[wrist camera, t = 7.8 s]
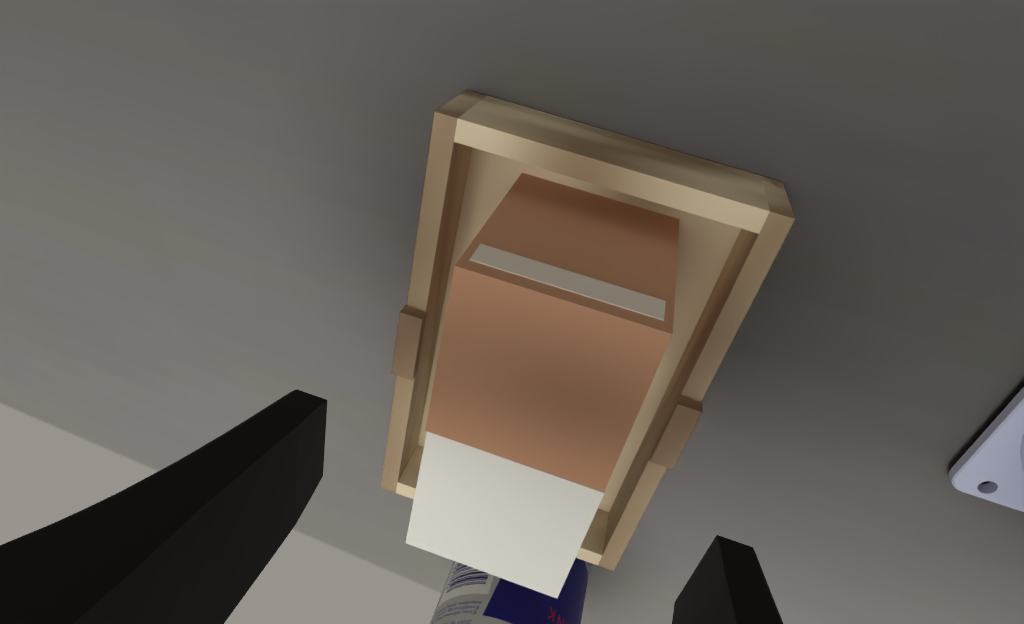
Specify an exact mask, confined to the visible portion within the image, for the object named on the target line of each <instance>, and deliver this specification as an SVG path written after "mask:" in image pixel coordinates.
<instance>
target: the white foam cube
mask: <svg viewBox="0 0 1024 624" xmlns="http://www.w3.org/2000/svg"><path fill="white" fill-rule="evenodd" d="M604 493H605V491H604V492H602V491H599V490H596V489H594V488H591V487H588V486H585V485H582V484H579V483H576V482H573V481H570V480H567V479H564V478H561V477H559V476H556V475H553V474H550V473H547V472H544V471H541V470H538V469H535V468H532V467H529V466H526V465H524V464H521V463H518V462H515V461H512V460H509V459H506V458H503V457H500V456H497V455H494V454H491V453H489V452H486V451H483V450H480V449H477V448H474V447H471V446H468V445H465V444H462V443H459V442H456V441H454V440H451V439H448V438H445V437H442V436H439V435H436V434H433V433H430V432H427V434H426V439H425V444H424V450H423V455H422V460H421V465H420V470H419V476H418V481H417V486H416V491H415V497H414V502H413V507H412V512H411V517H410V523H409V528H408V533H407V538H406V543H407V544H410V545H412V546H415V547H418V548H421V549H423V550H426V551H429V552H431V553H434V554H437V555H440V556H442V557H445V558H448V559H450V560H453V561H456V562H459V563H461V564H464V565H467V566H470V567H472V568H475V569H478V570H480V571H483V572H486V573H489V574H491V575H494V576H497V577H499V578H502V579H505V580H508V581H510V582H513V583H516V584H519V585H521V586H524V587H527V588H529V589H532V590H535V591H538V592H540V593H543V594H546V595H549V596H551V597H554V598H558V596H559V594H560V591H561V589H562V587H563V585H564V582H565V580H566V578H567V576H568V574H569V571H570V569H571V567H572V565H573V562H574V560H575V558H576V556H577V553H578V551H579V549H580V547H581V545H582V542H583V540H584V538H585V536H586V533H587V531H588V529H589V527H590V524H591V522H592V520H593V518H594V516H595V513H596V511H597V509H598V507H599V504H600V502H601V500H602V498H603V495H604Z"/></svg>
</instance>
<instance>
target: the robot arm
mask: <svg viewBox="0 0 1024 624" xmlns="http://www.w3.org/2000/svg"><path fill="white" fill-rule="evenodd" d="M326 412H327V400H326V399H323V398H320V397H317V396H314V395H311V394H308V393H305V392H302V391H300V390H297V389H296V390H294V391H292V392H290V393H289V394H287V395H285V396H284V397H282V398H281V399H279V400H277V401H276V402H274V403H273V404H271V405H270V406H268V407H266V408H265V409H263V410H262V411H260V412H258V413H257V414H255V415H254V416H252V417H250V418H249V419H247V420H246V421H244V422H242V423H241V424H239V425H238V426H236V427H234V428H233V429H231V430H230V431H228V432H226V433H225V434H223V435H221V436H220V437H218V438H216V439H214V440H213V441H211V442H209V443H208V444H206V445H204V446H203V447H201V448H199V449H198V450H196V451H194V452H192V453H191V454H189V455H187V456H186V457H184V458H182V459H180V460H179V461H177V462H175V463H173V464H171V465H170V466H168V467H166V468H164V469H162V470H160V471H158V472H156V473H155V474H153V475H151V476H149V477H147V478H145V479H144V480H142V481H140V482H138V483H136V484H134V485H133V486H130V487H128V488H127V489H125V490H123V491H121V492H119V493H117V494H115V495H113V496H111V497H109V498H107V499H105V500H103V501H101V502H99V503H96V504H94V505H92V506H90V507H88V508H86V509H84V510H82V511H79V512H77V513H75V514H73V515H71V516H69V517H67V518H64V519H62V520H60V521H57V522H55V523H53V524H51V525H48V526H46V527H44V528H41V529H39V530H37V531H34V532H32V533H29V534H27V535H24V536H22V537H20V538H17V539H15V540H12V541H10V542H7V543H6V544H3V545H1V546H0V624H224V622H225V621H226V620H227V618H228V617H229V616H230V614H231V613H232V612H233V610H234V609H235V607H236V606H237V605H238V603H239V602H240V600H241V599H242V598H243V596H244V595H245V594H246V592H247V591H248V590H249V588H250V587H251V585H252V584H253V582H254V581H255V580H256V579H257V577H258V576H259V574H260V573H261V572H262V570H263V569H264V568H265V566H266V565H267V564H268V562H269V561H270V559H271V558H272V557H273V555H274V554H275V552H276V551H277V550H278V548H279V547H280V545H281V544H282V543H283V541H284V540H285V538H286V537H287V536H288V534H289V533H290V531H291V530H292V529H293V527H294V526H295V524H296V523H297V521H298V519H299V517H300V516H301V514H302V512H303V510H304V509H305V507H306V505H307V504H308V502H309V500H310V498H311V496H312V494H313V493H314V491H315V489H316V487H317V485H318V484H319V482H320V480H321V478H322V476H323V463H324V446H325V429H326ZM949 479H950V481H951V483H952V485H953V486H954V487H955V489H957V490H959V491H961V492H964V493H967V494H970V495H973V496H976V497H979V498H982V499H985V500H988V501H991V502H994V503H997V504H1000V505H1003V506H1006V507H1009V508H1012V509H1015V510H1019V511H1022V512H1024V387H1023V388H1022V389H1021V390H1020V392H1019V393H1018V394H1017V395H1016V396H1015V397H1014V398H1013V399H1012V401H1011V402H1010V403H1009V404H1008V405H1007V406H1006V407H1005V409H1004V410H1003V411H1002V412H1001V413H1000V414H999V415H998V416H997V418H996V419H995V420H994V421H993V422H992V423H991V424H990V425H989V427H988V428H987V429H986V430H985V431H984V432H983V433H982V434H981V436H980V437H979V438H978V439H977V440H976V441H975V442H974V443H973V445H972V446H971V447H970V448H969V449H968V450H967V451H966V452H965V454H964V455H963V456H962V457H961V458H960V459H959V460H958V461H957V463H956V464H955V465H954V466H953V467H952V468H951V470H950V472H949ZM986 481H991V482H989V483H987V484H981V483H982V482H986ZM672 624H783V622H782V619H781V617H780V614H779V612H778V609H777V607H776V604H775V602H774V599H773V597H772V594H771V592H770V589H769V587H768V584H767V582H766V579H765V576H764V574H763V571H762V569H761V566H760V563H759V561H758V558H757V556H756V553H755V551H754V549H753V547H750V546H747V545H744V544H741V543H738V542H736V541H733V540H730V539H727V538H724V537H721V536H718V535H717V536H716V538H715V539H714V541H713V542H712V544H711V545H710V547H709V549H708V550H707V552H706V553H705V555H704V557H703V558H702V560H701V561H700V563H699V565H698V566H697V568H696V569H695V571H694V573H693V574H692V576H691V577H690V579H689V581H688V582H687V584H686V585H685V587H684V588H683V590H682V592H681V593H680V595H679V596H678V598H677V600H676V601H675V605H674V613H673V621H672Z"/></svg>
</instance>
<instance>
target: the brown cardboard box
mask: <svg viewBox="0 0 1024 624" xmlns="http://www.w3.org/2000/svg"><path fill="white" fill-rule="evenodd" d="M679 221H680V219H678V218H674V217H671V216H667V215H664V214H661V213H657V212H654V211H651V210H647V209H644V208H640V207H637V206H634V205H630V204H627V203H624V202H620V201H617V200H613V199H610V198H607V197H603V196H600V195H597V194H593V193H590V192H586V191H583V190H580V189H576V188H573V187H570V186H566V185H563V184H559V183H556V182H553V181H549V180H546V179H543V178H539V177H536V176H532V175H529V174H526V173H521V175H520V176H519V177H518V179H517V180H516V182H515V183H514V184H513V186H512V187H511V188H510V190H509V191H508V193H507V194H506V195H505V197H504V198H503V199H502V201H501V202H500V204H499V205H498V206H497V208H496V209H495V211H494V212H493V213H492V215H491V216H490V217H489V219H488V220H487V222H486V223H485V224H484V226H483V227H482V229H481V230H480V231H479V233H478V234H477V235H476V237H475V238H474V240H473V241H472V242H471V244H470V245H469V246H468V248H467V249H466V251H465V252H464V253H463V255H462V256H461V258H460V259H459V260H458V262H457V263H456V264H455V266H454V272H453V277H452V283H451V289H450V294H449V300H448V305H447V311H446V316H445V322H444V328H443V333H442V339H441V344H440V350H439V355H438V361H437V367H436V372H435V378H434V383H433V389H432V394H431V400H430V406H429V411H428V417H427V422H426V428H425V431H427V432H430V433H433V434H436V435H439V436H442V437H445V438H448V439H451V440H454V441H456V442H459V443H462V444H465V445H468V446H471V447H474V448H477V449H480V450H483V451H486V452H489V453H491V454H494V455H497V456H500V457H503V458H506V459H509V460H512V461H515V462H518V463H521V464H524V465H526V466H529V467H532V468H535V469H538V470H541V471H544V472H547V473H550V474H553V475H556V476H559V477H561V478H564V479H567V480H570V481H573V482H576V483H579V484H582V485H585V486H588V487H591V488H594V489H596V490H599V491H602V492H604V491H605V489H606V486H607V484H608V482H609V479H610V477H611V475H612V473H613V470H614V468H615V466H616V463H617V461H618V459H619V457H620V454H621V452H622V450H623V447H624V445H625V443H626V440H627V438H628V436H629V434H630V431H631V429H632V427H633V424H634V422H635V420H636V417H637V415H638V413H639V411H640V408H641V406H642V404H643V401H644V399H645V397H646V394H647V392H648V390H649V388H650V385H651V383H652V381H653V378H654V376H655V374H656V372H657V369H658V367H659V365H660V362H661V360H662V358H663V355H664V353H665V351H666V349H667V346H668V344H669V342H670V339H671V337H672V335H673V321H674V304H675V287H676V271H677V254H678V237H679Z"/></svg>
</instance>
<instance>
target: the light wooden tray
mask: <svg viewBox="0 0 1024 624" xmlns="http://www.w3.org/2000/svg"><path fill="white" fill-rule="evenodd" d="M521 173H526V174H529V175H532V176H536V177H539V178H543V179H546V180H549V181H553V182H556V183H559V184H563V185H566V186H570V187H573V188H576V189H580V190H583V191H586V192H590V193H593V194H597V195H600V196H603V197H607V198H610V199H613V200H617V201H620V202H624V203H627V204H630V205H634V206H637V207H640V208H644V209H647V210H651V211H654V212H657V213H661V214H664V215H667V216H671V217H674V218H678V219H680V221H679V237H678V254H677V271H676V287H675V304H674V321H673V335H672V337H671V339H670V342H669V344H668V346H667V349H666V351H665V353H664V355H663V358H662V360H661V362H660V365H659V367H658V369H657V372H656V374H655V376H654V378H653V381H652V383H651V385H650V388H649V390H648V392H647V394H646V397H645V399H644V401H643V404H642V406H641V408H640V411H639V413H638V415H637V417H636V420H635V422H634V424H633V427H632V429H631V431H630V434H629V436H628V438H627V440H626V443H625V445H624V447H623V450H622V452H621V454H620V457H619V459H618V461H617V463H616V466H615V468H614V470H613V473H612V475H611V477H610V479H609V482H608V484H607V486H606V489H605V493H604V495H603V498H602V500H601V502H600V504H599V507H598V509H597V511H596V513H595V516H594V518H593V520H592V522H591V524H590V527H589V529H588V531H587V533H586V536H585V538H584V540H583V542H582V545H581V547H580V549H579V551H578V553H577V556H576V558H578V559H581V560H584V561H587V562H589V563H592V564H595V565H598V566H600V567H603V568H606V569H609V570H612V571H614V570H615V568H616V566H617V564H618V562H619V560H620V558H621V556H622V554H623V552H624V550H625V548H626V546H627V544H628V543H629V541H630V539H631V537H632V535H633V533H634V531H635V529H636V527H637V525H638V523H639V521H640V519H641V517H642V515H643V513H644V511H645V510H646V508H647V506H648V504H649V502H650V500H651V498H652V496H653V494H654V492H655V490H656V488H657V486H658V484H659V482H660V480H661V478H662V477H663V475H664V473H665V471H666V469H667V468H669V469H673V467H674V465H675V463H676V462H677V460H678V458H679V456H680V454H681V452H682V450H683V448H684V446H685V444H686V442H687V441H688V439H689V437H690V435H691V433H692V431H693V429H694V427H695V425H696V423H697V421H698V420H699V418H700V416H701V414H702V403H701V401H702V399H703V397H704V395H705V393H706V391H707V389H708V387H709V385H710V383H711V381H712V380H713V378H714V376H715V374H716V372H717V370H718V368H719V366H720V364H721V362H722V360H723V358H724V356H725V354H726V352H727V350H728V348H729V347H730V345H731V343H732V341H733V339H734V337H735V335H736V333H737V331H738V329H739V327H740V325H741V323H742V321H743V319H744V317H745V315H746V314H747V312H748V310H749V308H750V306H751V304H752V302H753V300H754V298H755V296H756V294H757V292H758V290H759V288H760V286H761V284H762V282H763V281H764V279H765V277H766V275H767V273H768V271H769V269H770V267H771V265H772V263H773V261H774V259H775V257H776V255H777V253H778V251H779V249H780V248H781V246H782V244H783V242H784V240H785V238H786V236H787V234H788V232H789V230H790V228H791V226H792V224H793V222H794V220H795V217H794V214H793V211H792V208H791V205H790V202H789V199H788V196H787V194H786V191H785V188H784V185H783V182H781V181H777V180H774V179H770V178H767V177H763V176H760V175H757V174H753V173H750V172H746V171H743V170H740V169H736V168H733V167H729V166H726V165H723V164H719V163H716V162H712V161H709V160H706V159H702V158H699V157H695V156H692V155H688V154H685V153H682V152H678V151H675V150H671V149H668V148H665V147H661V146H658V145H654V144H651V143H648V142H644V141H641V140H637V139H634V138H630V137H627V136H624V135H620V134H617V133H613V132H610V131H607V130H603V129H600V128H596V127H593V126H590V125H586V124H583V123H579V122H576V121H572V120H569V119H566V118H562V117H559V116H555V115H552V114H549V113H545V112H542V111H538V110H535V109H532V108H528V107H525V106H521V105H518V104H515V103H511V102H508V101H504V100H501V99H497V98H494V97H491V96H487V95H484V94H480V93H477V92H474V91H470V90H465V91H464V92H462V93H461V94H460V95H458V96H457V97H455V98H454V99H452V100H451V101H449V102H448V103H447V104H445V105H444V106H442V107H441V108H439V109H438V110H436V111H435V114H434V121H433V128H432V134H431V141H430V148H429V155H428V162H427V169H426V176H425V183H424V190H423V197H422V204H421V211H420V218H419V225H418V232H417V239H416V246H415V253H414V260H413V267H412V273H411V280H410V287H409V294H408V301H407V306H406V305H405V306H404V308H403V309H402V310H401V312H400V316H399V323H398V331H397V338H396V345H395V352H394V360H393V367H392V374H394V375H397V378H396V385H395V392H394V399H393V406H392V413H391V419H390V426H389V433H388V440H387V447H386V454H385V461H384V468H383V475H382V482H381V488H384V489H386V490H389V491H392V492H395V493H398V494H400V495H403V496H406V497H409V498H411V499H414V497H415V491H416V486H417V481H418V476H419V470H420V465H421V460H422V455H423V450H424V444H425V439H426V434H427V431H425V428H426V422H427V417H428V411H429V406H430V400H431V394H432V389H433V383H434V378H435V372H436V367H437V361H438V355H439V350H440V344H441V339H442V333H443V328H444V322H445V316H446V311H447V305H448V300H449V294H450V289H451V283H452V277H453V272H454V266H455V264H456V263H457V262H458V260H459V259H460V258H461V256H462V255H463V253H464V252H465V251H466V249H467V248H468V246H469V245H470V244H471V242H472V241H473V240H474V238H475V237H476V235H477V234H478V233H479V231H480V230H481V229H482V227H483V226H484V224H485V223H486V222H487V220H488V219H489V217H490V216H491V215H492V213H493V212H494V211H495V209H496V208H497V206H498V205H499V204H500V202H501V201H502V199H503V198H504V197H505V195H506V194H507V193H508V191H509V190H510V188H511V187H512V186H513V184H514V183H515V182H516V180H517V179H518V177H519V176H520V175H521Z"/></svg>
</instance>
